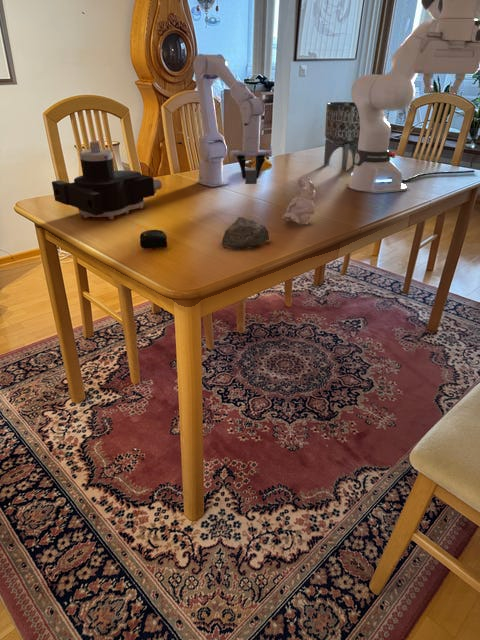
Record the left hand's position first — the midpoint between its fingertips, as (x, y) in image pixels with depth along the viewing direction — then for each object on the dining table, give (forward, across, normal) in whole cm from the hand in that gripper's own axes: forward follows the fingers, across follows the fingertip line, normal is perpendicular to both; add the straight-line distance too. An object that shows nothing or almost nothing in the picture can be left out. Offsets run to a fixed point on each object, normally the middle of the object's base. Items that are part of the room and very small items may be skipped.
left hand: (250, 177), depth 162 cm
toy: (+6, +12, +41) cm, 44 cm away
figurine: (+6, +9, -33) cm, 34 cm away
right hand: (-30, +46, -35) cm, 65 cm away
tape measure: (+6, -34, -50) cm, 60 cm away
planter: (+6, +52, +45) cm, 69 cm away
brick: (+2, 0, 0) cm, 2 cm away
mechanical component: (+6, -46, -14) cm, 48 cm away
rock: (+6, -9, -49) cm, 50 cm away
